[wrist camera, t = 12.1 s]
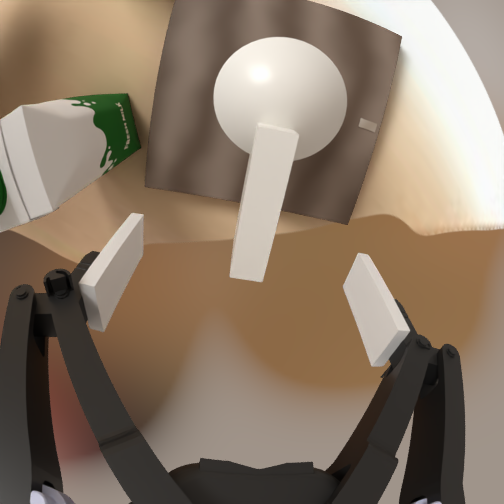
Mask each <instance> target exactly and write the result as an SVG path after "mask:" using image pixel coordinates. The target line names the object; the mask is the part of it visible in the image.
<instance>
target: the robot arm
mask: <svg viewBox="0 0 504 504" xmlns="http://www.w3.org/2000/svg"><path fill="white" fill-rule="evenodd" d="M143 229H144V214H137V213H131V214H130V216H129V217H128V218H127V219H126V220H125V222H124V223H123V224H122V225H121V227H120V228H119V229H118V230H117V232H116V233H115V234H114V235H113V237H112V238H111V239H110V241H109V242H108V243H107V244H106V246H105V247H104V248H103V250H102V251H101V252H95V251H92V252H90V253H88V254H87V255H85V256H84V258H83V259H82V260H81V261H80V263H79V264H78V265H77V267H76V268H75V269H74V271H73V272H72V273H71V274H70V272H69V271H67V270H65V269H55V270H52V271H50V272H49V273H47V274H46V276H45V277H44V286H45V289H46V292H47V293H35V292H34V289H33V288H32V286H30V285H26V284H23V285H19V286H18V287H16V288H14V289H13V290H12V292H11V294H10V298H9V302H8V306H7V311H6V316H5V321H4V326H3V333H2V338H1V345H0V504H75V503H74V502H73V501H72V499H71V498H70V497H68V496H67V495H66V494H64V493H63V484H62V477H61V471H60V466H59V461H58V456H57V451H56V445H55V440H54V433H53V425H52V417H51V408H50V395H49V375H48V339H49V337H58V340H59V344H60V348H61V351H62V354H63V357H64V360H65V364H66V367H67V370H68V373H69V375H70V378H71V381H72V384H73V386H74V389H75V392H76V394H77V397H78V399H79V402H80V404H81V406H82V409H83V411H84V413H85V415H86V418H87V420H88V422H89V424H90V426H91V429H92V431H93V433H94V435H95V437H96V439H97V441H98V443H99V447H100V450H101V452H102V453H103V456H104V458H105V459H106V461H107V463H108V465H109V467H110V468H111V470H112V471H113V473H114V475H115V477H116V478H117V480H118V481H119V483H120V485H121V486H122V488H123V489H124V491H125V492H126V494H127V495H128V497H129V498H130V500H131V501H132V502H130V503H129V504H377V503H378V501H379V500H380V498H381V496H382V494H383V492H384V491H385V489H386V486H387V485H388V483H389V481H390V479H391V477H392V475H393V473H394V471H395V469H396V467H397V464H398V459H397V458H395V455H396V452H397V450H398V448H399V445H400V443H401V441H402V438H403V436H404V434H405V431H406V429H407V426H408V424H409V421H410V419H411V416H412V413H413V410H414V417H413V425H412V433H411V440H410V447H409V453H408V459H407V464H406V469H405V475H404V479H403V484H402V488H401V493H400V499H399V504H465V498H464V491H463V483H462V482H463V472H464V456H465V407H464V391H463V380H462V372H461V364H460V356H459V353H458V351H457V350H456V348H455V347H453V346H452V345H450V344H444V346H442V348H441V349H436V348H433V347H432V346H431V343H430V342H429V341H428V340H427V338H425V337H424V336H422V335H418V334H417V332H416V331H415V329H414V327H413V325H412V323H411V321H410V319H409V318H408V315H407V314H406V312H405V310H404V308H403V306H402V305H401V304H400V303H399V302H398V300H396V299H393V297H392V295H391V293H390V291H389V289H388V288H387V286H386V284H385V283H384V281H383V279H382V277H381V275H380V274H379V272H378V270H377V269H376V267H375V265H374V263H373V262H372V260H371V258H370V257H369V255H367V254H362V253H358V254H357V256H356V259H355V261H354V263H353V265H352V268H351V270H350V272H349V274H348V276H347V279H346V281H345V283H344V285H343V289H344V292H345V294H346V297H347V299H348V302H349V304H350V307H351V310H352V313H353V315H354V318H355V320H356V323H357V325H358V329H359V332H360V334H361V337H362V340H363V343H364V346H365V348H366V352H367V355H368V357H369V360H370V363H371V366H384V364H385V363H386V362H387V361H388V360H390V363H391V365H390V366H389V368H388V369H387V370H386V371H385V372H384V374H383V375H382V376H381V378H383V379H382V381H381V383H380V385H379V387H378V389H377V391H376V393H375V395H374V397H373V399H372V401H371V403H370V404H369V407H368V408H367V410H366V412H365V413H364V415H363V417H362V419H361V420H360V422H359V424H358V426H357V427H356V429H355V430H354V432H353V434H352V435H351V437H350V439H349V440H348V442H347V443H346V445H345V447H344V448H343V450H342V451H341V453H340V454H339V455H338V457H337V459H336V460H335V461H334V463H333V464H332V465H331V466H330V467H329V468H328V469H327V470H326V471H323V470H321V469H317V468H313V462H301V463H285V464H281V465H277V466H273V467H268V468H264V469H255V468H251V467H248V466H244V465H240V464H237V463H233V462H230V461H221V460H212V459H204V458H201V459H200V462H199V463H193V464H188V465H184V466H181V467H178V468H176V469H174V470H172V471H170V472H169V473H168V472H167V471H166V470H165V468H164V467H163V465H162V464H161V463H160V461H159V460H158V459H157V457H156V455H155V454H154V452H153V451H152V449H151V448H150V446H149V445H148V443H147V442H146V440H145V439H144V437H143V436H142V434H141V433H140V431H139V430H138V429H137V428H136V426H135V425H134V423H133V421H132V420H131V418H130V416H129V414H128V413H127V411H126V409H125V407H124V405H123V404H122V402H121V400H120V398H119V396H118V394H117V392H116V390H115V388H114V386H113V384H112V383H111V380H110V378H109V376H108V374H107V372H106V370H105V368H104V366H103V363H102V361H101V359H100V357H99V354H98V352H97V350H96V347H95V345H94V343H93V340H92V338H91V335H90V333H89V330H88V328H87V325H86V322H87V320H88V323H89V327H90V328H91V329H94V330H98V331H102V332H104V331H105V329H106V327H107V324H108V322H109V320H110V318H111V316H112V314H113V312H114V310H115V307H116V306H117V303H118V302H119V300H120V297H121V296H122V294H123V292H124V290H125V288H126V285H127V284H128V282H129V280H130V278H131V276H132V274H133V272H134V271H135V269H136V266H137V265H138V263H139V261H140V259H141V258H142V256H143Z"/></svg>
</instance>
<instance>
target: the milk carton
mask: <svg viewBox="0 0 504 504" xmlns="http://www.w3.org/2000/svg"><path fill="white" fill-rule="evenodd" d="M140 148H141V146H140V142H139V138H138V134H137V130H136V127H135V123H134V119H133V115H132V110H131V106H130V102H129V98H128V94H101V95H88V96H79V97H72V98H65V99H59V100H54V101H48V102H43V103H39V104H31V105H21V106H19V107H18V108H16V109H15V110H14V111H12V112H11V113H10V114H8V115H6V116H5V117H3V118H2V119H0V233H1V232H3V231H6V230H8V229H11V228H13V227H16V226H19V225H21V224H25V223H28V222H31V221H33V220H36V219H39V218H41V217H43V216H46V215H48V214H50V213H52V212H53V211H55V210H57V209H58V208H59V206H60V205H61V204H62V203H64V202H66V201H67V200H69V199H70V198H71V197H73V196H74V195H76V194H77V193H78V192H80V191H81V190H82V189H84V188H85V187H87V186H88V185H89V184H91V183H92V182H94V181H95V180H97V179H98V178H100V177H101V176H102V175H104V174H105V173H107V172H108V171H109V170H111V169H112V168H113V167H115V166H116V165H118V164H119V163H120V162H122V161H123V160H124V159H126V158H127V157H129V156H130V155H131V154H133V153H134V152H135V151H137V150H138V149H140Z"/></svg>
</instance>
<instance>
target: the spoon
mask: <svg viewBox="0 0 504 504" xmlns="http://www.w3.org/2000/svg"><path fill="white" fill-rule="evenodd" d="M213 96H214V108H215V113H216V116H217V119H218V121H219V124H220V126H221V128H222V129H223V131H224V132H225V134H226V135H227V136H228V137H229V139H230V140H231V141H232V142H233V143H234V144H236V145H237V146H238V147H239V148H241V149H242V150H244V151H245V152H247V153H249V154H250V155H249V161H248V166H247V171H246V176H245V181H244V187H243V192H242V197H241V203H240V208H239V213H238V219H237V224H236V230H235V235H234V243H233V250H232V259H231V267H230V276H229V277H232V278H238V279H244V280H251V281H258V282H262V281H263V278H264V274H265V270H266V266H267V262H268V259H269V255H270V250H271V247H272V243H273V239H274V235H275V231H276V228H277V224H278V220H279V216H280V212H281V208H282V204H283V200H284V196H285V192H286V188H287V184H288V180H289V176H290V171H291V167H292V163H293V161H295V160H300V159H303V158H306V157H309V156H311V155H313V154H315V153H317V152H318V151H320V150H321V149H323V148H324V147H325V146H326V145H328V144H329V143H330V142H331V141H332V139H333V138H334V137H335V136H336V134H337V133H338V131H339V130H340V128H341V126H342V124H343V121H344V118H345V114H346V109H347V93H346V88H345V84H344V81H343V78H342V76H341V74H340V72H339V70H338V69H337V67H336V66H335V64H334V63H333V62H332V61H331V60H330V59H329V58H328V56H327V55H325V54H324V53H323V52H322V51H320V50H319V49H317V48H316V47H314V46H312V45H311V44H308V43H306V42H304V41H301V40H297V39H293V38H287V37H270V38H264V39H260V40H257V41H254V42H251V43H249V44H247V45H245V46H243V47H242V48H240V49H239V50H237V51H236V52H235V53H234V54H233V55H232V56H231V57H230V58H229V59H228V60H227V61H226V62H225V64H224V65H223V67H222V68H221V70H220V72H219V74H218V77H217V79H216V83H215V87H214V95H213Z"/></svg>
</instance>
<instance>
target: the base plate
mask: <svg viewBox="0 0 504 504" xmlns="http://www.w3.org/2000/svg"><path fill="white" fill-rule="evenodd" d="M270 37H287V38H293V39H297V40H301V41H304V42H306V43H308V44H311V45H312V46H314V47H316V48H317V49H319V50H320V51H322V52H323V53H324V54H325V55H327V56H328V58H329V59H330V60H331V61H332V62H333V63H334V64H335V66H336V67H337V69H338V70H339V72H340V74H341V76H342V78H343V81H344V84H345V88H346V93H347V109H346V114H345V118H344V121H343V124H342V126H341V128H340V130H339V131H338V133H337V134H336V136H335V137H334V138H333V139H332V141H331V142H330V143H329V144H328V145H326V146H325V147H324V148H323V149H321V150H320V151H318V152H317V153H315V154H313V155H311V156H309V157H306V158H303V159H300V160H295V161H293V163H292V167H291V171H290V176H289V180H288V184H287V188H286V192H285V196H284V200H283V204H282V208H281V211H286V212H291V213H295V214H300V215H305V216H310V217H314V218H319V219H323V220H328V221H332V222H337V223H341V224H345V225H348V222H349V220H350V217H351V215H352V212H353V209H354V206H355V204H356V201H357V198H358V195H359V192H360V189H361V187H362V184H363V181H364V178H365V175H366V172H367V169H368V166H369V162H370V159H371V156H372V153H373V150H374V146H375V143H376V140H377V136H378V133H379V130H380V126H381V123H382V119H383V115H384V112H385V108H386V104H387V101H388V97H389V93H390V89H391V85H392V81H393V76H394V72H395V68H396V63H397V59H398V54H399V49H400V44H401V39H402V36H400V35H398V34H396V33H394V32H392V31H390V30H388V29H385V28H383V27H381V26H379V25H376V24H374V23H372V22H369V21H367V20H364V19H362V18H359V17H357V16H354V15H352V14H349V13H346V12H343V11H340V10H337V9H334V8H331V7H328V6H325V5H322V4H318V3H315V2H311V1H308V0H175V3H174V6H173V10H172V14H171V17H170V21H169V25H168V29H167V33H166V38H165V42H164V47H163V51H162V56H161V61H160V66H159V72H158V77H157V83H156V89H155V95H154V102H153V108H152V116H151V124H150V132H149V141H148V151H147V162H146V176H145V187H148V188H155V189H162V190H169V191H175V192H181V193H188V194H194V195H200V196H206V197H212V198H217V199H223V200H229V201H234V202H240V203H241V197H242V192H243V187H244V181H245V176H246V171H247V166H248V161H249V155H250V154H249V153H247V152H245V151H244V150H242V149H241V148H239V147H238V146H237V145H236V144H234V143H233V142H232V141H231V140H230V139H229V137H228V136H227V135H226V134H225V132H224V131H223V129H222V128H221V126H220V124H219V121H218V119H217V116H216V113H215V108H214V96H213V95H214V87H215V83H216V79H217V77H218V74H219V72H220V70H221V68H222V67H223V65H224V64H225V62H226V61H227V60H228V59H229V58H230V57H231V56H232V55H233V54H234V53H235V52H236V51H237V50H239V49H240V48H242V47H243V46H245V45H247V44H249V43H251V42H254V41H257V40H260V39H264V38H270Z"/></svg>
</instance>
